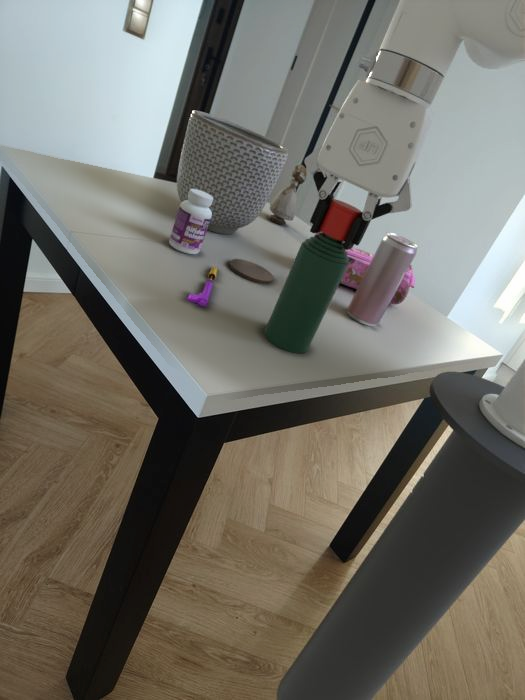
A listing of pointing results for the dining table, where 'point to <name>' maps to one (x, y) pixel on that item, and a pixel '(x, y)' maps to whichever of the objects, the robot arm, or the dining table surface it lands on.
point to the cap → (339, 219)
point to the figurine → (287, 198)
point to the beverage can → (382, 279)
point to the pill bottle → (192, 222)
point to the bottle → (307, 293)
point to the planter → (228, 169)
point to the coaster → (251, 271)
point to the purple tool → (204, 291)
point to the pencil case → (359, 266)
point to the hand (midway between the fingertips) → (332, 238)
